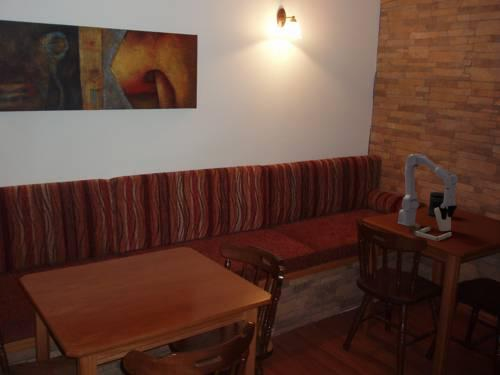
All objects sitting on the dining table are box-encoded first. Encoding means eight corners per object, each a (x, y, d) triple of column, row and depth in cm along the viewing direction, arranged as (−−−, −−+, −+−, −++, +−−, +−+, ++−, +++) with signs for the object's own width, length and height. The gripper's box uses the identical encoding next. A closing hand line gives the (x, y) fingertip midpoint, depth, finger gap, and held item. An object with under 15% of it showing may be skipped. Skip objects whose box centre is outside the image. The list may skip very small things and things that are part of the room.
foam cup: (451, 227, 308) (448, 206, 306) (455, 230, 299) (452, 208, 297) (434, 229, 309) (432, 208, 308) (438, 232, 300) (436, 211, 298)
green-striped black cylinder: (427, 213, 344) (429, 191, 341) (442, 214, 342) (444, 192, 339) (429, 217, 334) (431, 194, 331) (444, 218, 332) (447, 195, 329)
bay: (414, 235, 294) (414, 231, 294) (428, 230, 305) (428, 226, 304) (437, 241, 284) (437, 237, 283) (451, 235, 295) (451, 232, 294)
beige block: (408, 232, 300) (409, 224, 299) (412, 230, 303) (413, 223, 302) (415, 234, 297) (416, 226, 296) (419, 232, 300) (420, 225, 299)
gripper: (450, 198, 284) (447, 222, 286) (462, 195, 293) (459, 217, 296) (438, 196, 289) (435, 219, 291) (450, 192, 298) (447, 215, 301)
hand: (446, 218), depth 294 cm, fingers open, 7 cm apart
